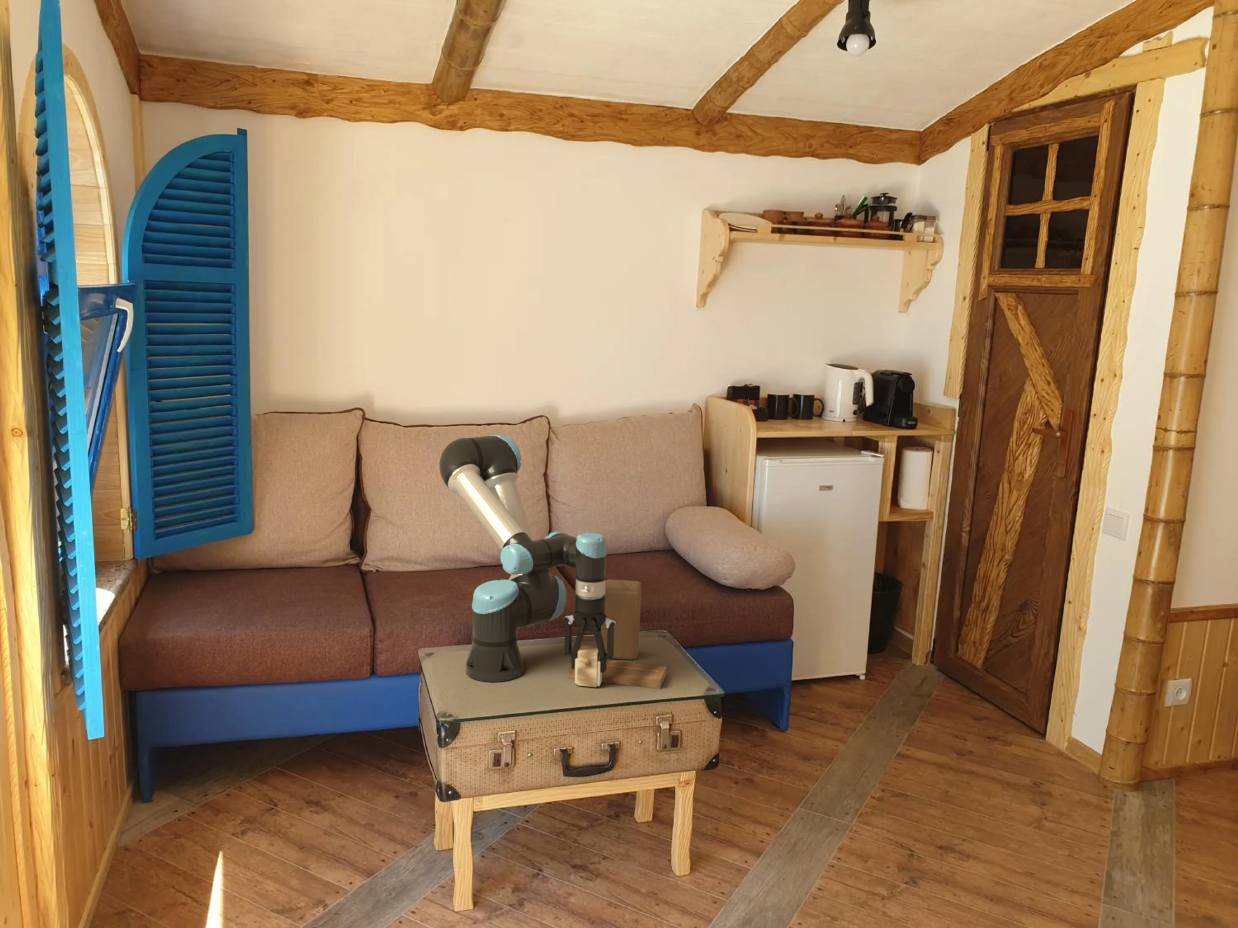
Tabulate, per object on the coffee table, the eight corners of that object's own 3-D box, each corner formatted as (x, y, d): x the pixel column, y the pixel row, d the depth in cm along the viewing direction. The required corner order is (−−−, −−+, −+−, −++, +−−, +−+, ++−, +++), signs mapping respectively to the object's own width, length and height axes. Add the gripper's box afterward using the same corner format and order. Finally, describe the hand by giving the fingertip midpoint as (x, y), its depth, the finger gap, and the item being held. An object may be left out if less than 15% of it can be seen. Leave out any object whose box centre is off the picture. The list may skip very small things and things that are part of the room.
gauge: (576, 685, 250) (577, 651, 248) (589, 666, 263) (590, 634, 261) (595, 687, 249) (596, 653, 247) (607, 668, 262) (608, 636, 260)
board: (569, 678, 255) (569, 668, 255) (577, 665, 264) (578, 656, 264) (660, 688, 251) (660, 679, 250) (666, 675, 259) (666, 666, 259)
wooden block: (639, 648, 278) (641, 580, 275) (636, 661, 268) (638, 591, 265) (603, 645, 279) (606, 578, 276) (599, 658, 269) (602, 588, 266)
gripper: (551, 596, 246) (550, 684, 250) (622, 602, 242) (619, 692, 246) (559, 587, 253) (558, 673, 257) (628, 593, 249) (625, 680, 253)
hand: (588, 682), depth 251 cm, fingers closed on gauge, 5 cm apart
